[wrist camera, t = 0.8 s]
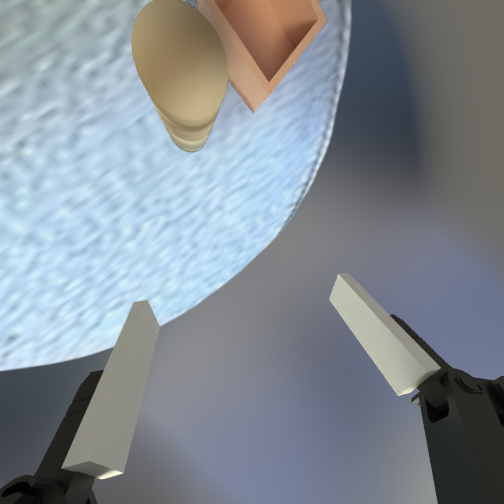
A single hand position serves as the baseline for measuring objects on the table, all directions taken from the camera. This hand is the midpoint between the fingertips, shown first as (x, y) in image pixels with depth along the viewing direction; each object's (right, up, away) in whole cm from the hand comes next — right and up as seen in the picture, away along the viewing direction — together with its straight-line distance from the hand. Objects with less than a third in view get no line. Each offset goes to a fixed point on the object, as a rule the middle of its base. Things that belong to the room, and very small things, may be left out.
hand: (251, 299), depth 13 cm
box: (0, +29, +10) cm, 31 cm away
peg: (-8, +20, +11) cm, 24 cm away
